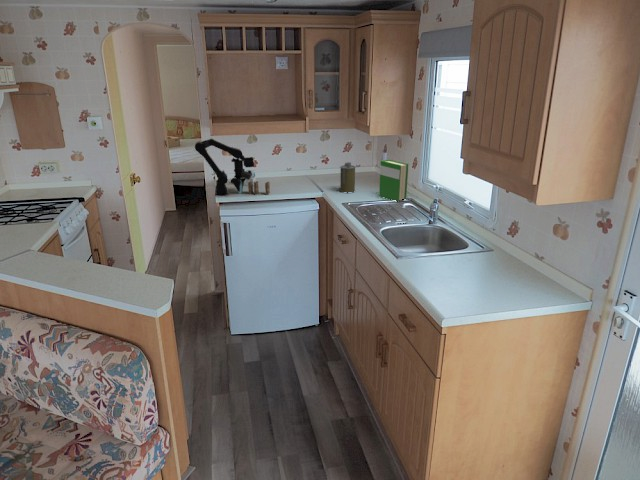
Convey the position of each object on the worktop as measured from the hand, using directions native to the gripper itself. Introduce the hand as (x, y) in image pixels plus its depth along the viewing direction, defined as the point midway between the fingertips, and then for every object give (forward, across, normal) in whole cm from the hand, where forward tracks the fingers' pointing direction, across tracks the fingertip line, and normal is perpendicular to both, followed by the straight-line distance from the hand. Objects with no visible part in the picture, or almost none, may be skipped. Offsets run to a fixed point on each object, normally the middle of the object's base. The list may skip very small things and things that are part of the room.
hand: (240, 190), depth 318 cm
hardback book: (+2, +1, -104) cm, 104 cm away
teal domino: (+2, 0, 0) cm, 2 cm away
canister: (+2, +14, -73) cm, 74 cm away
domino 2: (+2, 0, -12) cm, 12 cm away
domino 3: (+2, 0, -20) cm, 20 cm away
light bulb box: (+2, +23, +2) cm, 23 cm away
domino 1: (+2, 0, -8) cm, 8 cm away
